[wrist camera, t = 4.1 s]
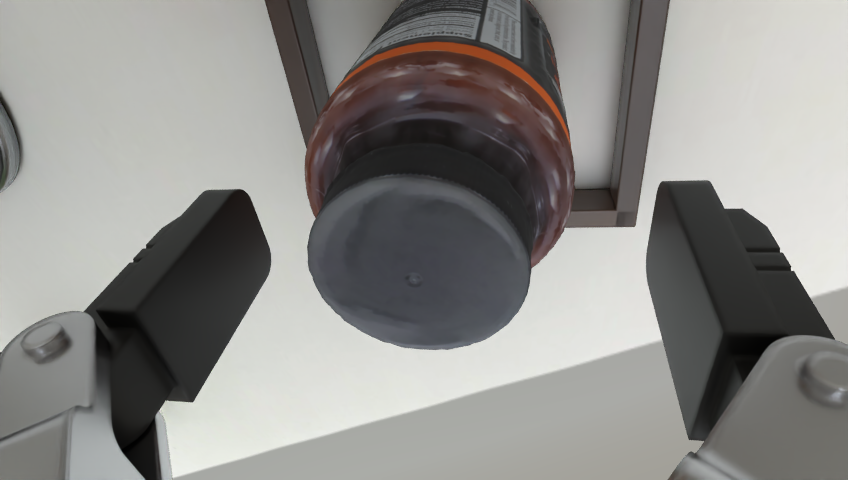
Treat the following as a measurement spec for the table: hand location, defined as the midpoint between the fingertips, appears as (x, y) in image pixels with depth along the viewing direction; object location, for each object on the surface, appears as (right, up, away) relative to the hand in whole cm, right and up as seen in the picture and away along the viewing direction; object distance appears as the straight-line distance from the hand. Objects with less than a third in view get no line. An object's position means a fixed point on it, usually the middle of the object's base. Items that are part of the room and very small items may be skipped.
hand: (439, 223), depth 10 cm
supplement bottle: (+1, +6, +8) cm, 10 cm away
